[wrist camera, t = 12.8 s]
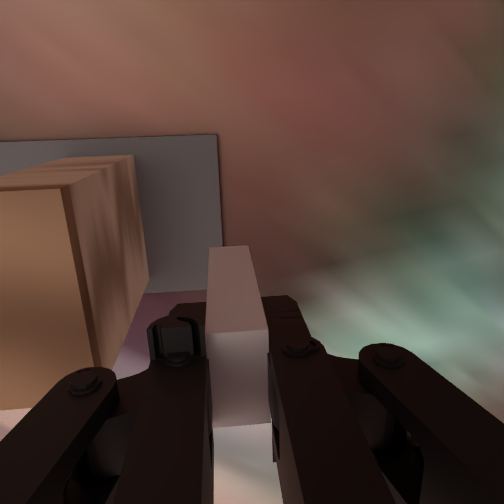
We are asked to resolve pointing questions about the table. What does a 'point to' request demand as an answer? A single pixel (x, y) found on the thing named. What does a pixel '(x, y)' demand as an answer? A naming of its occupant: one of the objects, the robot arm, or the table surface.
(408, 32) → the table surface
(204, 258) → the mat
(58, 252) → the slab
